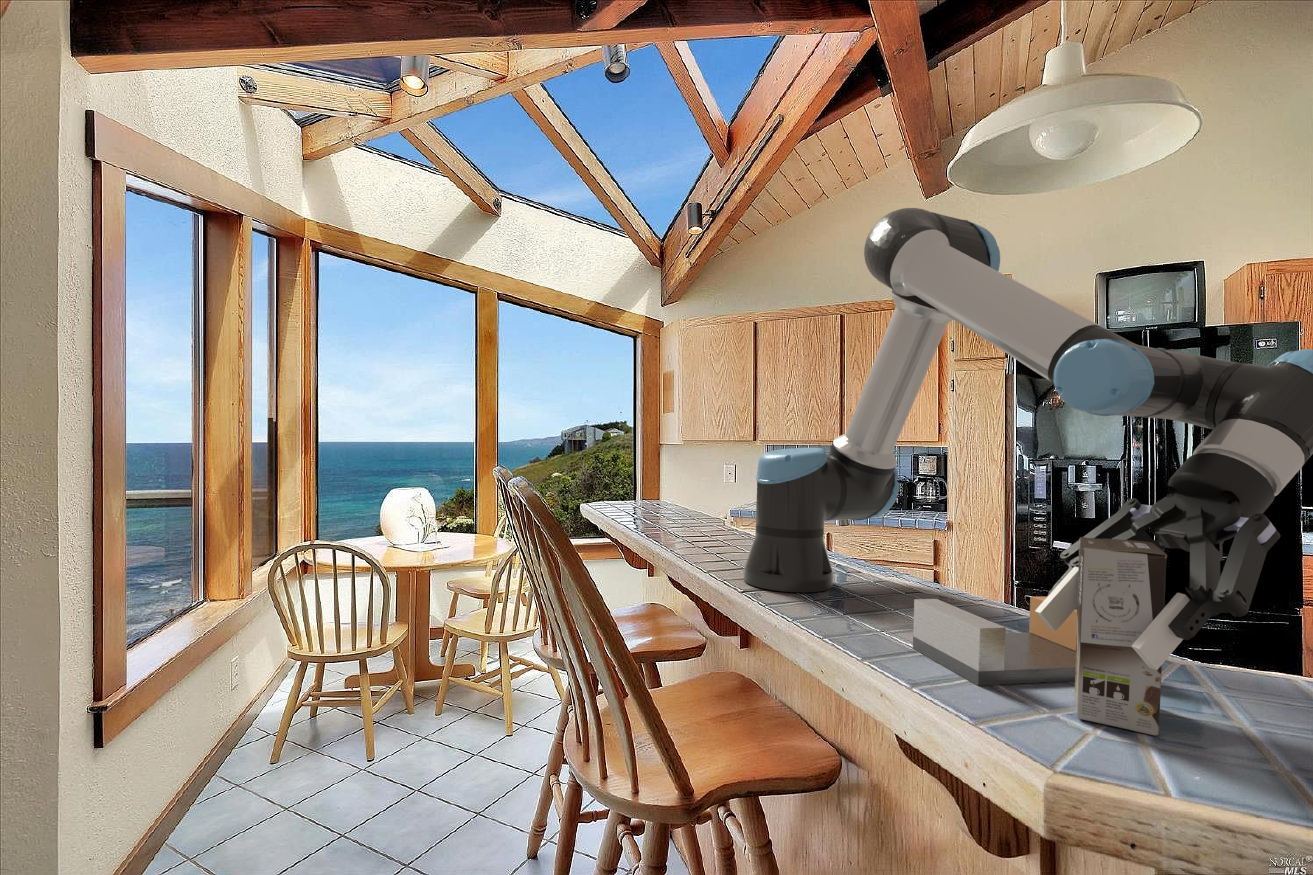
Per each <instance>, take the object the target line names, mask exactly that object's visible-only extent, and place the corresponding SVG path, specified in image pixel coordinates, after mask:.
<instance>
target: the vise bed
mask: <svg viewBox="0 0 1313 875" xmlns="http://www.w3.org/2000/svg"><path fill="white" fill-rule="evenodd" d="M912 633H913V635H912V649H913V650H915V651H917V652H918V653H920V654H922V653H923V654H922V655H923V656H925V655H926V657H927V658H929V659H931V660H933V661H934V662H936V663H938V664H940V665H941V666H943V667H944V668H946V669H948V670H949V671H952V672H954V673H955V674H956V675H958V676H960V675H961V676H960V677H962V678H963V679H966V680H967V681H969V682H971V683H973V684H974V683H975V685H976V686H979V687H980V686H982V687H983V686H997V685H998V686H1002V685H1003V684H1004V685H1022V684H1023V683H1024V684H1025V683H1026V684H1041V683H1040V682H1047V683H1065V682H1075V662H1076V651H1074V650H1072V649H1070V648H1067V647H1065V646H1062V645H1060V644H1057V643H1055V642H1052V641H1050V640H1047V639H1045V638H1042V637H1040V636H1038V635H1035V634H1033V633H1030V632H1008V633H1007V632H1006V627H1005V626H1002V625H1000V624H998V623H995V622H993V621H990V620H987V619H986V618H983V617H981V616H979V615H977V614H974V613H972V612H969V611H966V610H965V609H961V608H959V607H957V606H955V605H952V604H949V603H947V602H945V601H942V600H940V599H937V598H919V599H918V598H917V599H916V598H915V599H914V602H913V631H912ZM1001 684H1002V685H1001ZM1024 684H1023V685H1024Z"/></svg>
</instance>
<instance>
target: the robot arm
mask: <svg viewBox="0 0 1313 875" xmlns="http://www.w3.org/2000/svg"><path fill="white" fill-rule="evenodd" d="M863 248H864V249H863V250H864V251H863V256H864V257H863V258H864V262H865V263H864V264H865V265H866V267H867V270H868V272H869V273H870V274H871V275H872V277H873V278H875V279H876V280H877V281H878V282H880V283H881V284H883V285H885V287H888V288H889V289H891V292H890V295H891V297H892V299H893V302H894V305H895V307H894V310H893V313H892V315H891V318H890V320H889V324H888V325H887V328H886V331H885V333H884V335H883V338H882V341H881V343H880V346H879V348H878V351H877V353H876V356H875V358H874V361H873V364H872V365H871V368H870V370H869V373H868V376H867V378H866V381H865V383H864V386H863V389H862V391H861V393H860V396H859V398H858V401H857V404H856V406H855V408H854V410H853V414H852V416H851V419H850V421H849V424H848V427H847V429H846V432H845V433H843V434H841V435H839V436H836V437H835V438H833V441H832V443H831V446H830V448H829V452H828V453H827V452H826V450H825V449H824V448H821V447H796V448H793V447H792V448H782V449H776V450H771V451H766V452H764V453H763V454H761V456H760V457H759V459H758V464H757V465H758V466H757V473H756V476H755V480H756V483H757V484H756V504H755V505H756V508H755V509H756V513H755V536H754V540H753V542H752V546H751V548H750V551H749V554H748V556H747V558H746V563H745V564H744V570H743V571H744V572H743V574H744V575H743V581H744V582H745V583H746V584H749V585H751V586H753V587H757V588H760V589H765V590H770V591H775V592H776V591H777V592H786V593H787V592H788V593H818V592H824V591H829V590H831V589H832V588H833V587H834V586H833V585H834V572H833V569H832V565H831V563H830V558H829V555H828V553H827V552H828V551H827V549H826V545H825V540H824V539H825V538H824V537H825V522H828V521H845V520H852V521H865V520H868V519H873V518H878V517H880V516H883V515H884V514H885V513H887V512H888V511H889V510H890V509H891V508H892V507H893V505H894V504H895V502H896V501H897V498H898V495H899V491H900V482H898V479H899V474H898V470H897V469H896V467H897V465H898V461H897V458H896V456H895V454H894V448H895V447H896V444H897V442H898V439H899V438H900V435H901V432H902V431H903V428H904V425H905V424H906V421H907V419H908V416H909V415H910V412H911V410H912V407H913V405H914V402H915V401H916V398H917V395H918V393H919V391H920V389H921V386H922V384H923V382H924V379H925V378H926V376H927V372H928V370H929V369H930V366H931V364H932V361H933V359H934V357H935V355H936V351H937V350H938V348H939V345H940V343H941V340H942V338H943V337H944V334H945V331H946V329H947V326H948V325H949V323H951V322H952V321H955V322H957V323H958V324H960V325H961V326H963V327H964V328H966V329H968V330H970V331H971V332H972V333H974V334H975V335H977V336H978V337H980V338H982V339H983V340H984V341H987V343H990V344H991V345H993V346H994V347H996V348H998V349H999V350H1001V351H1002V352H1003V353H1006V354H1007V355H1008V356H1010V357H1011V358H1013V359H1015V360H1016V361H1018V362H1019V363H1021V364H1022V365H1024V366H1026V367H1027V368H1029V369H1030V370H1032V371H1033V372H1035V373H1036V374H1038V375H1039V376H1041V377H1042V378H1045V379H1046V380H1047V381H1049V382H1050V383H1052V384H1053V385H1054V389H1055V390H1056V392H1057V394H1058V396H1059V398H1060V399H1061V400H1062V402H1064V403H1065V404H1066V405H1067V406H1069V407H1070V408H1072V409H1075V410H1077V411H1081V412H1085V413H1087V414H1091V415H1094V416H1099V417H1100V416H1101V417H1102V416H1103V417H1111V416H1112V417H1113V416H1121V417H1122V416H1123V417H1139V418H1150V419H1165V420H1171V421H1175V422H1180V423H1185V424H1188V425H1193V426H1197V427H1201V428H1205V429H1210V430H1211V431H1210V433H1208V435H1207V436H1206V437H1205V438H1204V439H1203V440H1202V441H1201V442H1200V443H1199V445H1197V447H1196V448H1195V449H1194V450H1193V452H1192V454H1191V455H1190V456H1189V457H1188V458H1187V459H1186V460H1185V461H1184V462H1183V463H1182V464H1181V466H1180V467H1179V468H1178V469H1177V470H1176V471H1175V472H1174V473H1173V475H1172V476H1170V478H1169V480H1168V484H1167V491H1166V494H1165V496H1164V497H1163V498H1162V499H1160V500H1158V501H1157V502H1154V503H1153V504H1152V505H1150V504H1149V505H1148V504H1141V502H1139V500H1138V499H1137V498H1135V497H1134V498H1129V499H1128V500H1126V501H1125V502H1124V503H1123V505H1122V506H1121V507H1120V508H1119V509H1118V511H1117V512H1116V513H1114V514H1112V515H1111V516H1110V517H1109V518H1107V519H1106V520H1104V521H1103V522H1102V523H1100V524H1098V526H1096V527H1095V528H1094V529H1092V530H1091V531H1089V532H1088V533H1087V534H1085V535H1084V536H1083V537H1086V538H1096V539H1120V540H1133V541H1143V542H1152V543H1154V544H1155V545H1156V546H1157V547H1159V548H1160V549H1161V550H1162V551H1163V550H1165V549H1181V550H1184V551H1186V552H1189V586H1188V587H1187V586H1185V587H1184V589H1185V590H1186V592H1187V593H1188V594H1189V595H1190V597H1191V598H1189V597H1188V595H1186V594H1184V593H1181V592H1176V594H1174V596H1173V597H1172V598H1170V601H1169V602H1168V603H1167V604H1165V607H1164V609H1163V610H1162V611H1161V612H1160V613H1159V614H1158V616H1157V617H1156V618H1155V619H1154V620H1153V621H1152V623H1151V624H1150V625H1149V626H1148V627H1147V628H1146V630H1145V631H1144V632H1143V633H1142V634H1141V635H1140V637H1139V638H1138V639H1137V640H1136V641H1135V642H1134V644H1133V645H1132V648H1133V649H1134V650H1135V651H1136V652H1137V654H1138V655H1139V656H1140V657H1141V658H1142V660H1143V661H1144V662H1145V663H1146V664H1147V665H1148V667H1150V668H1152V669H1155V670H1158V668H1159V667H1160V666H1161V665H1162V666H1163V664H1164V663H1165V661H1166V660H1168V658H1169V657H1170V655H1171V654H1172V653H1173V652H1174V651H1175V650H1176V648H1178V646H1179V645H1180V644H1181V643H1182V641H1183V640H1185V641H1189V640H1191V639H1192V638H1194V637H1195V636H1196V634H1198V632H1199V631H1200V630H1201V629H1202V628H1203V627H1204V625H1206V623H1207V622H1208V620H1210V618H1211V617H1216V616H1218V615H1220V614H1231V616H1233V617H1237V618H1241V617H1244V616H1246V615H1247V614H1248V613H1249V610H1250V607H1251V604H1252V600H1253V597H1254V594H1255V592H1256V588H1257V585H1258V581H1259V578H1260V575H1261V572H1262V570H1263V566H1264V563H1265V560H1266V557H1267V553H1268V552H1269V550H1271V549H1272V547H1273V546H1274V545H1275V544H1276V543H1277V541H1278V540H1279V539H1280V538H1281V533H1279V531H1278V530H1277V529H1276V527H1275V526H1274V525H1273V523H1272V522H1271V521H1270V519H1269V518H1268V517H1267V515H1266V514H1264V513H1265V511H1266V510H1267V509H1268V508H1269V507H1270V505H1271V504H1272V503H1273V502H1274V500H1275V497H1276V496H1278V495H1279V494H1280V493H1281V492H1282V490H1284V488H1285V487H1286V486H1287V485H1288V484H1289V483H1290V481H1291V480H1292V479H1293V478H1294V477H1295V475H1296V474H1297V473H1299V471H1300V469H1302V468H1303V467H1304V466H1305V464H1306V463H1307V461H1308V460H1309V458H1311V456H1312V455H1313V349H1310V348H1308V349H1307V348H1306V349H1305V348H1304V349H1301V350H1291V351H1287V352H1285V353H1283V354H1281V355H1279V356H1278V357H1277V358H1275V359H1274V360H1273V361H1271V362H1270V363H1269V364H1268V365H1267V366H1264V365H1259V364H1253V363H1246V362H1245V363H1244V362H1243V363H1242V362H1234V361H1229V360H1224V359H1219V358H1214V357H1209V356H1205V355H1199V354H1192V353H1187V352H1182V351H1178V350H1175V349H1171V348H1170V349H1169V348H1163V347H1157V348H1156V347H1151V346H1145V345H1140V344H1136V343H1134V342H1132V341H1130V340H1128V339H1126V338H1125V337H1123V336H1121V335H1119V334H1117V333H1115V332H1113V331H1111V330H1109V329H1107V328H1105V327H1103V326H1102V325H1100V324H1097V323H1096V322H1094V321H1092V320H1091V319H1088V318H1087V317H1085V316H1083V315H1081V314H1079V313H1077V312H1075V311H1073V310H1071V309H1070V308H1068V307H1066V306H1064V305H1062V304H1060V303H1058V302H1056V301H1054V300H1053V299H1051V298H1049V297H1047V296H1045V295H1043V294H1041V293H1039V292H1037V291H1036V290H1034V289H1031V288H1030V287H1028V286H1026V285H1025V284H1024V283H1023V284H1022V283H1021V282H1019V281H1018V280H1015V279H1013V278H1011V277H1009V276H1007V275H1005V274H1004V273H1002V272H1000V266H1001V251H1000V248H999V245H998V243H997V240H996V238H995V236H994V235H993V233H991V231H989V230H988V229H987V228H985V227H983V226H981V225H979V224H976V223H975V222H972V221H970V220H968V219H961V218H957V217H954V216H948V215H945V214H940V213H936V212H933V211H929V210H928V209H927V210H926V209H923V208H919V207H904V208H900V209H896V210H892V211H891V212H889V213H887V214H885V215H884V216H882V217H881V218H880V219H879V220H877V221H876V222H875V224H874V225H873V226H872V228H871V230H870V231H869V233H868V234H867V237H866V239H865V243H864V247H863ZM1148 529H1150V531H1151V534H1152V535H1153V536H1154V537H1155V539H1153V538H1152V537H1151V536H1150V535H1149V533H1148V532H1147V530H1148ZM1233 537H1234V538H1233ZM1232 538H1233V541H1232V544H1231V547H1230V549H1229V553H1228V555H1227V557H1226V561H1225V564H1224V566H1223V569H1222V572H1221V561H1223V559H1224V556H1223V555H1224V554H1223V553H1224V552H1223V544H1224V542H1225V541H1226V540H1227V541H1228V540H1229V539H1232ZM1079 543H1080V539H1078V540H1077V541H1076V542H1074V543H1073V544H1071V545H1070V546H1069V547H1068V548H1066V549H1065V550H1063V551H1061V553H1060V556H1059V557H1060V558H1061V559H1062V560H1063V562H1064V563H1065V564H1066V565H1067V567H1068V569H1067V570H1066V571H1065V573H1064V574H1063V575H1062V576H1061V577H1060V578H1059V579H1058V580H1057V581H1056V582H1055V584H1054V585H1053V586H1052V588H1051V589H1052V590H1053V591H1052V592H1051V593H1050V595H1049V596H1048V595H1047V596H1048V597H1047V598H1046V599H1045V600H1044V601H1043V602H1042V603H1041V605H1040V606H1039V607H1038V608H1037V609H1036V610H1035V612H1036V613H1037V614H1038V615H1039V617H1040V618H1041V619H1042V620H1043V621H1044V622H1045V624H1046V625H1047V626H1048V627H1049V628H1050V629H1051V630H1054V631H1056V630H1057V629H1058V628H1059V627H1060V626H1061V625H1062V623H1063V622H1064V621H1065V620H1066V619H1067V618H1068V617H1069V616H1070V614H1071V613H1072V612H1073V611H1074V610H1075V609H1076V608H1077V595H1078V568H1079Z"/></svg>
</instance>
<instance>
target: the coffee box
mask: <svg viewBox="0 0 1313 875" xmlns="http://www.w3.org/2000/svg"><path fill="white" fill-rule="evenodd" d="M1079 540H1080V543H1079V568H1078V595H1077V626H1076V662H1075V681H1074V696H1075V707H1076V708H1075V709H1076V718H1077V719H1079V720H1084V721H1087V722H1093V723H1096V724H1101V725H1106V726H1111V727H1115V728H1119V729H1124V730H1129V731H1133V732H1137V733H1141V734H1146V735H1150V736H1154V737H1155V736H1158V735H1159V731H1160V717H1161V716H1160V715H1161V713H1160V712H1161V695H1162V694H1161V693H1162V690H1161V689H1162V674H1163V673H1162V671H1163V670H1162V669H1163V667H1162V666H1163V664H1162V665H1161V666H1160V667H1159V668H1158V670H1155V669H1152V668H1150V667H1148V665H1147V664H1146V663H1145V662H1144V661H1143V660H1142V658H1141V657H1140V656H1139V655H1138V654H1137V652H1136V651H1135V650H1134V649H1133V648H1132V645H1133V644H1134V642H1135V641H1136V640H1137V639H1138V638H1139V637H1140V635H1141V634H1142V633H1143V632H1144V631H1145V630H1146V628H1147V627H1148V626H1149V625H1150V624H1151V623H1152V621H1153V620H1154V619H1155V618H1156V617H1157V616H1158V614H1159V613H1160V612H1161V611H1162V610H1163V609H1164V607H1165V606H1166V604H1165V603H1166V600H1165V599H1166V584H1167V583H1166V581H1167V580H1166V579H1167V562H1168V561H1167V560H1168V555H1167V553H1166V552H1164V551H1163V550H1161V549H1160V548H1159V547H1157V546H1156V545H1155V544H1154V543H1152V542H1143V541H1133V540H1120V539H1096V538H1086V537H1084V536H1080V537H1079Z"/></svg>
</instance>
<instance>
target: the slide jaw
mask: <svg viewBox="0 0 1313 875" xmlns="http://www.w3.org/2000/svg"><path fill="white" fill-rule="evenodd" d="M1052 589H1053V588H1051V589H1050V590H1049V591H1048V593H1047V596H1030V600H1029V601H1030V602H1029V623H1028V624H1029V630H1028V631H1029V632H1028V633H1033V634H1035V635H1038V636H1040V637H1042V638H1045V639H1047V640H1050V641H1052V642H1055V643H1057V644H1060V645H1062V646H1065V647H1067V648H1070V649H1072V650H1074V651H1076V626H1077V608H1076V609H1075V610H1074V611H1073V612H1072V613H1071V614H1070V616H1069V617H1068V618H1067V619H1066V620H1065V621H1064V622H1063V623H1062V625H1061V626H1060V627H1059V628H1058V629H1057V630H1056V631H1054V630H1051V629H1050V628H1049V627H1048V626H1047V625H1046V624H1045V622H1044V621H1043V620H1042V619H1041V618H1040V617H1039V615H1038V614H1037V613H1036V612H1035V610H1036V609H1037V608H1038V607H1039V606H1040V605H1041V603H1042V602H1043V601H1044V600H1045V599H1046V598H1047V597H1048V596H1049V595H1050V593H1051V592H1052V591H1053V590H1052Z"/></svg>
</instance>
